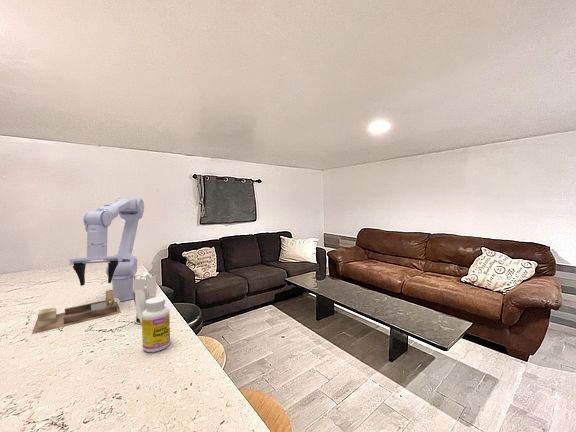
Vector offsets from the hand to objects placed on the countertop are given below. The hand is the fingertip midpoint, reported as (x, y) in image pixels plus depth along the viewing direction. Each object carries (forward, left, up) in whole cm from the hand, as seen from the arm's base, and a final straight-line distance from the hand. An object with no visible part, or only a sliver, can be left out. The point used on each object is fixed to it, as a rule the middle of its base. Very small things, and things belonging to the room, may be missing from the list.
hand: (96, 283), depth 87 cm
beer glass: (-12, +15, -12) cm, 23 cm away
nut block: (+13, -1, -10) cm, 16 cm away
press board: (+5, -1, -12) cm, 13 cm away
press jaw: (-2, -1, -10) cm, 10 cm away
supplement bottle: (-11, +35, -12) cm, 38 cm away
